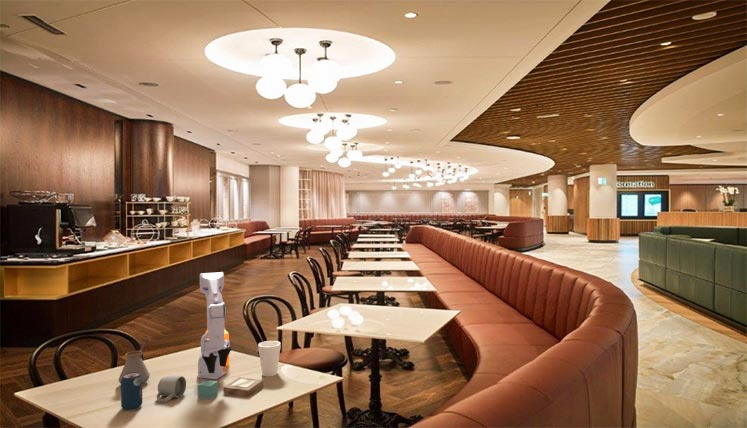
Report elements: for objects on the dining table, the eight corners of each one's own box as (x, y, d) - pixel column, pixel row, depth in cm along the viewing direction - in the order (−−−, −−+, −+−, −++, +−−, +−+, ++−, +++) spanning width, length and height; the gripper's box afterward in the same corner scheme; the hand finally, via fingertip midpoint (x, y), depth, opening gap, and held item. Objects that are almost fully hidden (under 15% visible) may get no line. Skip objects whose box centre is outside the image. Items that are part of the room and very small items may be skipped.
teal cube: (198, 397, 185) (198, 384, 185) (206, 392, 190) (206, 380, 190) (209, 399, 184) (209, 386, 183) (217, 394, 188) (217, 381, 188)
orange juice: (222, 360, 228) (221, 317, 228) (229, 364, 222) (229, 321, 221) (205, 363, 223) (204, 320, 223) (212, 368, 217) (212, 324, 216)
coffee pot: (143, 389, 193) (142, 351, 193) (113, 390, 192) (112, 352, 192) (162, 370, 215) (161, 336, 214) (135, 371, 214) (134, 337, 213)
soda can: (145, 407, 176) (145, 374, 176) (125, 413, 171) (125, 379, 171) (137, 401, 181) (137, 370, 181) (118, 407, 176) (117, 375, 176)
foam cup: (283, 370, 214) (283, 341, 214) (277, 377, 205) (277, 347, 205) (262, 369, 215) (262, 340, 215) (255, 377, 206) (255, 346, 206)
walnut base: (223, 394, 189) (223, 386, 189) (239, 384, 199) (239, 376, 199) (248, 398, 185) (248, 389, 185) (263, 387, 196) (263, 379, 196)
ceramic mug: (168, 391, 191) (167, 372, 191) (187, 392, 190) (186, 373, 189) (150, 402, 181) (150, 382, 180) (170, 404, 179) (169, 384, 179)
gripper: (214, 340, 180) (215, 377, 180) (236, 330, 194) (236, 364, 194) (198, 339, 182) (198, 375, 182) (220, 329, 196) (221, 362, 196)
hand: (217, 369), depth 188 cm, fingers open, 7 cm apart
